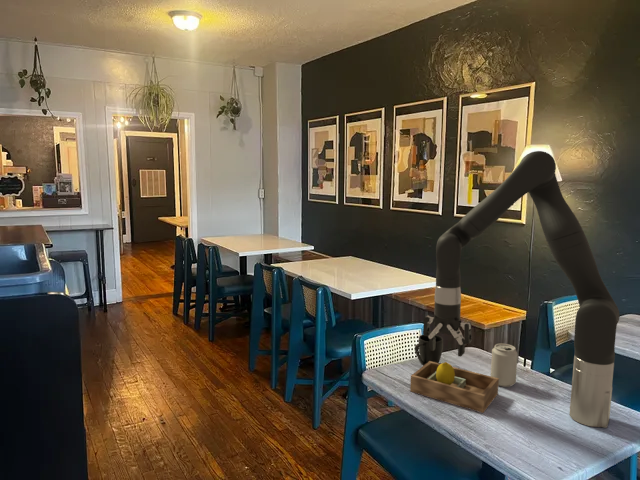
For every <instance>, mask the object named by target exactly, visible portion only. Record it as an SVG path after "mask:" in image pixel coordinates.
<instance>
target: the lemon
mask: <svg viewBox="0 0 640 480" xmlns="http://www.w3.org/2000/svg"><path fill="white" fill-rule="evenodd" d="M439 364H440V365H439V366H438V368H437V371H436V378H437V381H438V382H441V383H444V384H448V385H451V384H452V383H453V381H454V378H455V372H454V369H453V367H454V366H453V365H451V363H448V362H447V361H445V362H442V363H439Z"/></svg>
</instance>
